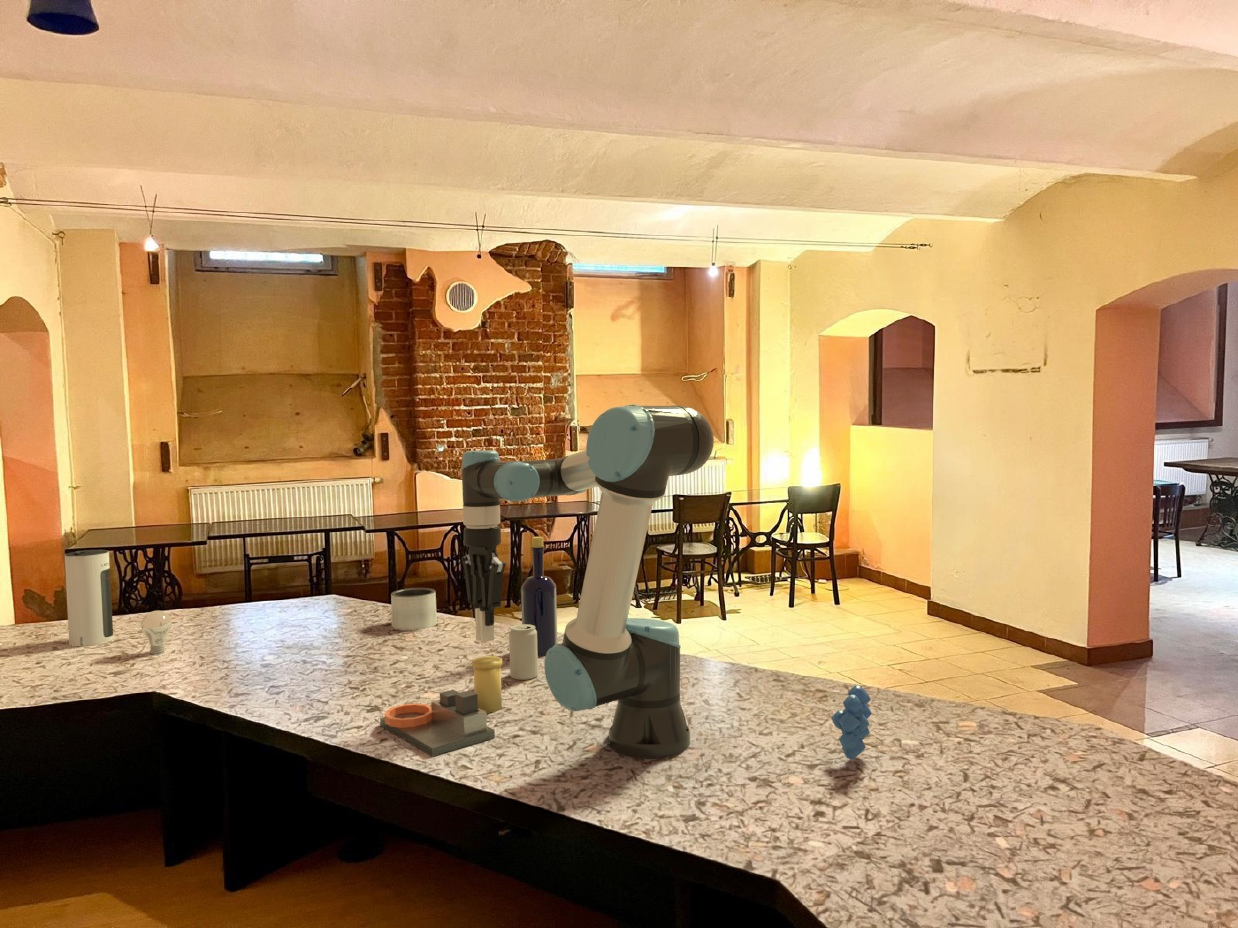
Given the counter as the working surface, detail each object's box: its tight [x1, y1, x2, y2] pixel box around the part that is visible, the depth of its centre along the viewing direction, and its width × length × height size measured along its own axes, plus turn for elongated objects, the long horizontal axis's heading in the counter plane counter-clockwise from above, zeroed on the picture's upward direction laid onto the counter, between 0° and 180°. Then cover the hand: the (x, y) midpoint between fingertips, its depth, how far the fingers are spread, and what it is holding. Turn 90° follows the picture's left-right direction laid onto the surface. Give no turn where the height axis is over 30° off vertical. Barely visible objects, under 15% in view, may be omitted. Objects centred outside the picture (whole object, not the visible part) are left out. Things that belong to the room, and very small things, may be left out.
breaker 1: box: [439, 689, 460, 707], centre depth 165 cm, size 3×3×4 cm
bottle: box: [520, 536, 558, 657], centre depth 215 cm, size 9×9×30 cm
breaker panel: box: [379, 699, 496, 757], centre depth 164 cm, size 21×13×5 cm, turn 41°
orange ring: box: [384, 703, 432, 728], centre depth 166 cm, size 9×9×2 cm
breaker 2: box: [455, 690, 478, 715], centre depth 160 cm, size 3×3×4 cm
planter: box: [390, 587, 438, 631], centre depth 243 cm, size 13×13×11 cm
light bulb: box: [140, 610, 173, 655], centre depth 220 cm, size 7×7×12 cm
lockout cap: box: [471, 655, 503, 714], centre depth 176 cm, size 6×6×10 cm
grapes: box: [831, 684, 872, 761], centre depth 149 cm, size 12×7×12 cm, turn 149°
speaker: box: [64, 549, 114, 647], centre depth 231 cm, size 11×10×26 cm
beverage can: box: [508, 623, 539, 681], centre depth 197 cm, size 6×6×12 cm
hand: (485, 639), depth 175 cm, fingers closed
